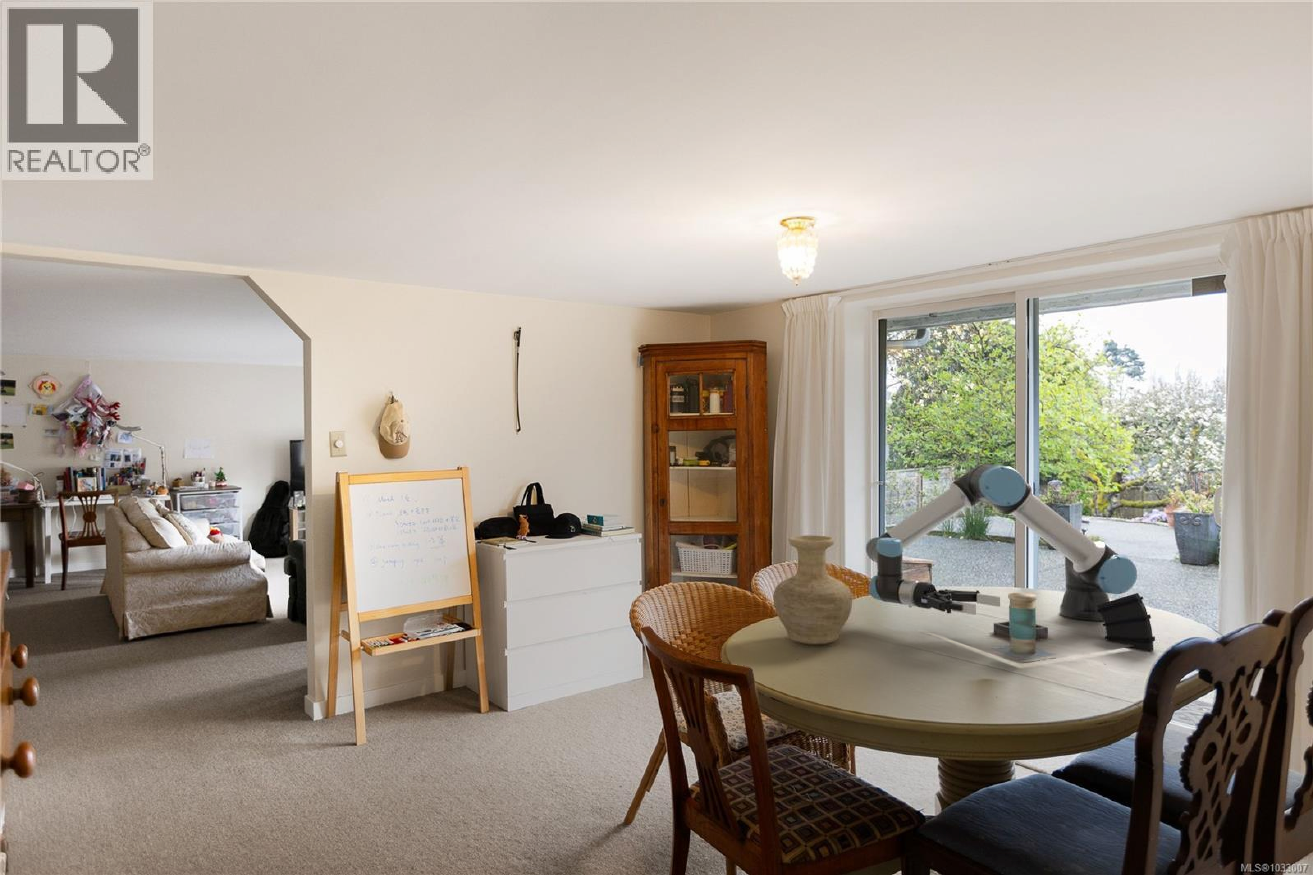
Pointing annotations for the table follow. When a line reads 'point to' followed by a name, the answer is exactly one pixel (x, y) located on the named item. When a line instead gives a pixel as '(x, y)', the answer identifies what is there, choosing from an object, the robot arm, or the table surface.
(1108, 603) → the magazine
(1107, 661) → the table surface
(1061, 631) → the table surface
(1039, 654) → the rubber mat
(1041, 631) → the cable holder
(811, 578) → the vase
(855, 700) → the table surface
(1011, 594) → the disc
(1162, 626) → the table surface
